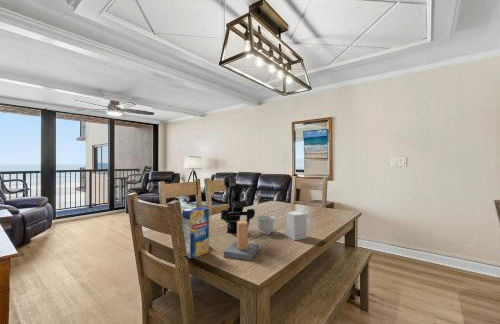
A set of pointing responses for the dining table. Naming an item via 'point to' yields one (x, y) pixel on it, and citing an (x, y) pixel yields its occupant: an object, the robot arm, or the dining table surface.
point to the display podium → (241, 251)
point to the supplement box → (296, 225)
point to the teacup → (266, 223)
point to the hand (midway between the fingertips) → (239, 227)
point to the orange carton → (242, 235)
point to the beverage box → (196, 231)
